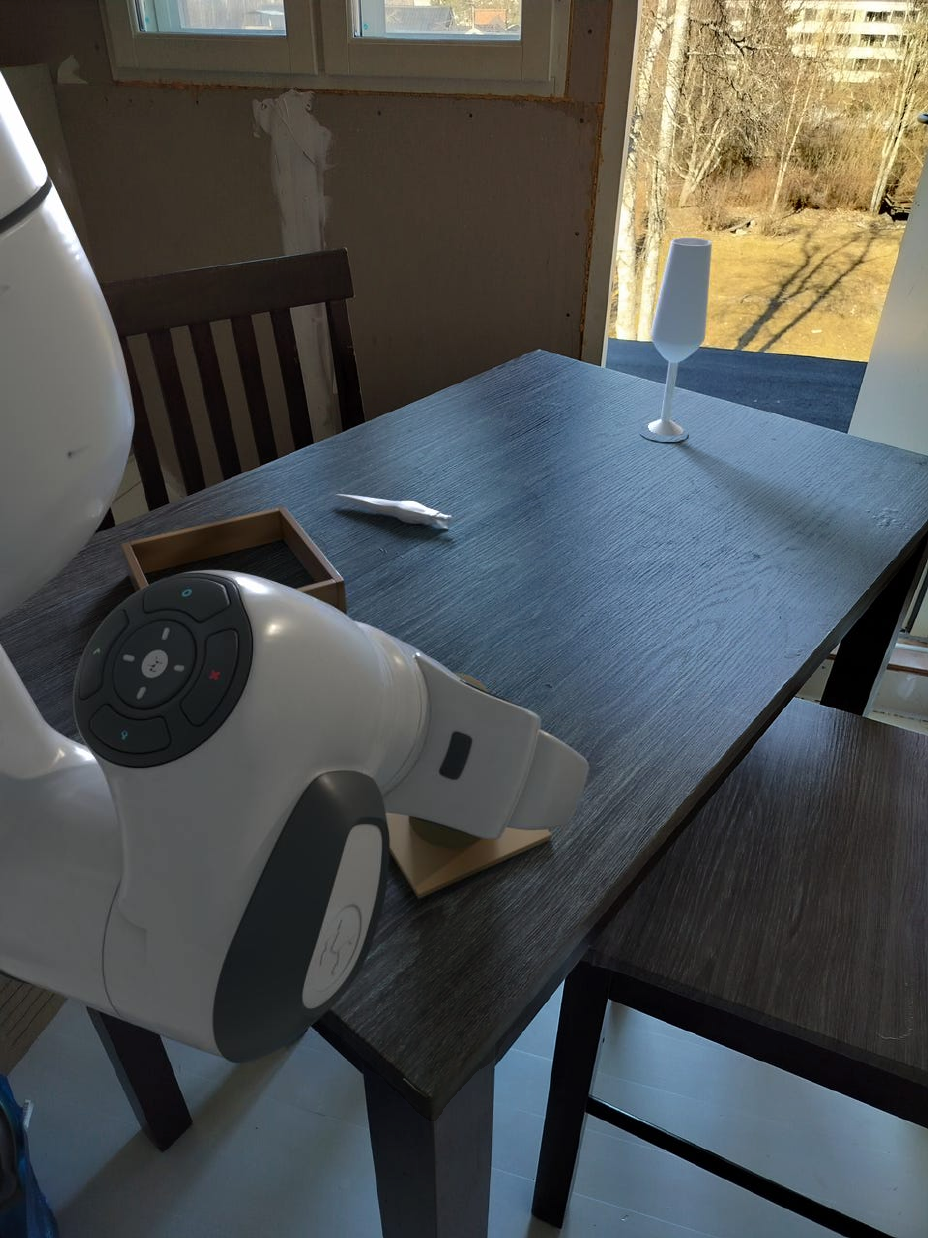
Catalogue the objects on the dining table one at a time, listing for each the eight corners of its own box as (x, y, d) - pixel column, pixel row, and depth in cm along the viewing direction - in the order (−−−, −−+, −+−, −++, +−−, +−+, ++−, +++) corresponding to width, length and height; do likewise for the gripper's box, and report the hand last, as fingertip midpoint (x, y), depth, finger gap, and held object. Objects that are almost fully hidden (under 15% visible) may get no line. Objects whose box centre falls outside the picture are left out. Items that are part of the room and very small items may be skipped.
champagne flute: (634, 439, 113) (659, 245, 99) (641, 420, 118) (666, 234, 104) (686, 445, 111) (718, 249, 97) (691, 426, 116) (722, 237, 103)
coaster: (418, 899, 53) (418, 894, 53) (355, 795, 60) (355, 790, 60) (551, 839, 57) (552, 834, 57) (478, 748, 64) (478, 743, 64)
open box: (166, 664, 73) (158, 631, 71) (128, 573, 85) (120, 543, 83) (347, 612, 79) (344, 580, 77) (287, 534, 91) (284, 505, 89)
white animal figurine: (457, 524, 93) (457, 509, 92) (447, 535, 91) (447, 519, 90) (341, 497, 98) (340, 482, 97) (328, 506, 96) (327, 491, 95)
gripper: (183, 712, 47) (309, 736, 59) (522, 855, 39) (583, 847, 51) (225, 605, 47) (341, 651, 60) (567, 723, 39) (616, 748, 52)
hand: (455, 743), depth 56 cm, fingers open, 8 cm apart
